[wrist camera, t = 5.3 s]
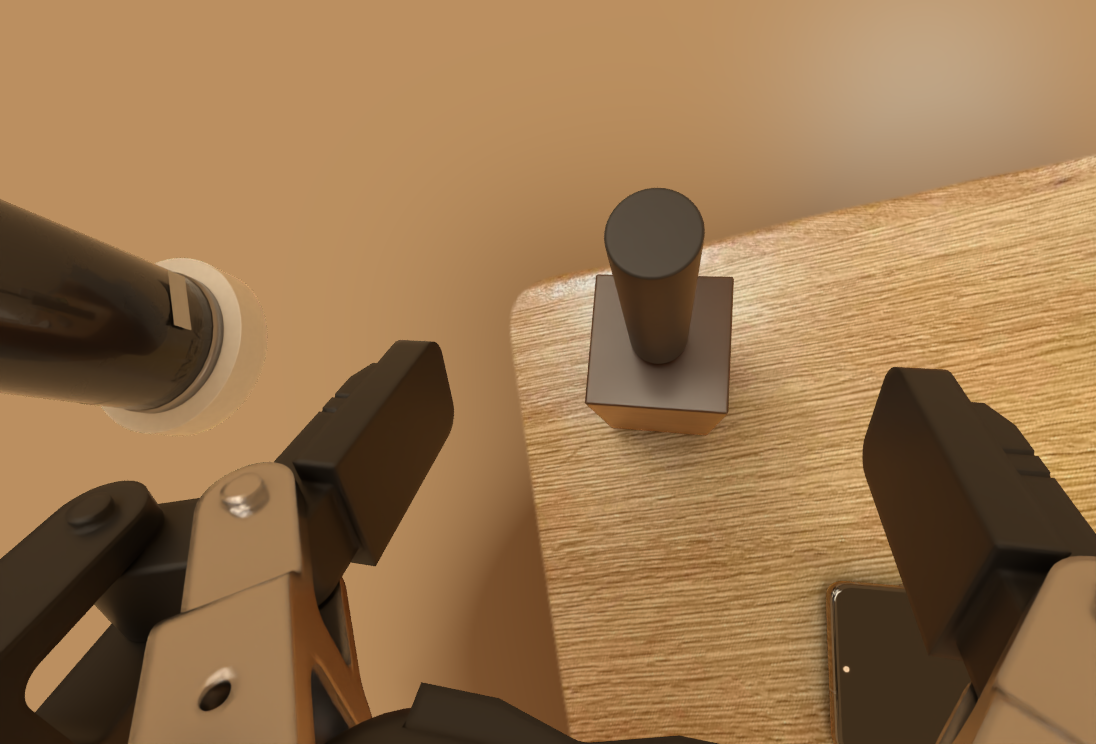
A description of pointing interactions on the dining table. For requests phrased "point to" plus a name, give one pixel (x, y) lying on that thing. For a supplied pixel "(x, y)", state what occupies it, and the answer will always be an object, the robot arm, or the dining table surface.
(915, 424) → the robot arm
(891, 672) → the smartphone
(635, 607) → the dining table surface
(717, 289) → the stand
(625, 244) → the stylus
